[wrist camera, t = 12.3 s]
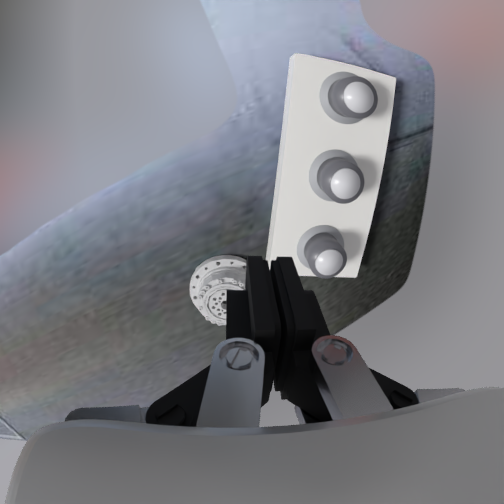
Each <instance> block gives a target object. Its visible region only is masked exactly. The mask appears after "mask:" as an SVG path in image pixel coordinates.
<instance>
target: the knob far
mask: <svg viewBox="0 0 504 504" xmlns="http://www.w3.org/2000/svg"><path fill="white" fill-rule="evenodd" d="M304 255H305V258H306V260H307V262H308V264H309V267H310V269H311V271H312V272H313V274H314V275H316V276H317V277H320V278H331V277H334V276H336V275H338V274H339V273H340V272H341V271H342V270H343V269H344V267H345V265H346V262H347V254H346V252H345V250H344V249H343V247H342V246H341V245H340V243H339V242H338V240H337V239H336V238H335V237H334V236H333V235H331V234H329V233H319V234H316V235H314V236H312V237H311V238H310V239H309V240H308V241H307V243H306V244H305V247H304Z"/></svg>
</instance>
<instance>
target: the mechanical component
mask: <svg viewBox="0 0 504 504" xmlns="http://www.w3.org/2000/svg"><path fill="white" fill-rule="evenodd" d="M246 262H247V260H245V259H243V258H241V257H238V256H232V255H220V256H215V257H212V258H210V259H208V260H205V261H204V262H203V263H202V264H200V265H199V266H198V267H197V268H196V270H195V272H194V273H193V275H192V278H191V282H190V295H191V299H192V301H193V303H194V305H195V306H196V307H197V308H198V309H199V311H200V312H201V314H202V315H203V316H205V317H206V320H210V321H211V323H213V324H214V323H217V324H218V325H219V326H221V325H226V297H227V290H245V280H246Z"/></svg>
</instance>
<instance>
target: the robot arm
mask: <svg viewBox="0 0 504 504" xmlns="http://www.w3.org/2000/svg"><path fill="white" fill-rule="evenodd" d="M273 381H274V388H275V391H280V392H281V399H287V400H288V401H290V402H291V403H293V404H295V412H296V415H297V418H298V420H299V423H300V425H289V426H273V427H259V421H260V410H261V407H262V406H263V405H264V404H266V403H267V402H268V400H269V395H270V391H271V389H272V384H273ZM5 504H504V388H499V387H488V388H487V387H486V388H478V389H472V390H467V391H465V390H463V389H459V388H454V389H453V388H452V389H417V390H416V391H415V392H413V391H412V390H411V389H409V388H407V387H406V386H404V385H402V384H400V383H398V382H396V381H394V380H392V379H390V378H388V377H386V376H384V375H382V374H380V373H378V372H376V371H374V370H372V369H370V368H368V366H367V365H366V363H365V361H364V360H363V358H362V357H361V355H360V353H359V352H358V350H357V349H356V347H355V346H354V345H353V344H352V343H351V342H350V341H349V340H347V339H345V338H342V337H340V336H335V335H330V333H329V330H328V328H327V325H326V322H325V320H324V317H323V314H322V312H321V309H320V306H319V304H318V301H317V299H316V296H315V293H314V292H313V291H312V290H303V287H302V284H301V281H300V278H299V275H298V272H297V269H296V267H295V264H294V261H293V258H292V257H278V256H277V258H276V260H272V261H271V266H270V270H269V265H268V260H263V259H262V256H247V262H246V280H245V290H227V297H226V340H225V341H223V342H221V343H220V344H219V345H218V346H217V347H216V349H215V351H214V354H213V358H212V362H211V365H209V366H208V367H206V368H205V369H203V370H202V371H201V372H199V373H198V374H196V375H195V376H193V377H192V378H190V379H189V380H187V381H186V382H184V383H183V384H181V385H180V386H178V387H177V388H175V389H174V390H172V391H171V392H169V393H168V394H166V395H164V396H163V397H161V398H160V399H158V400H157V401H155V402H154V403H153V404H152V405H151V406H150V407H143V408H140V407H139V405H129V406H113V407H86V408H78V409H75V410H73V411H71V412H70V413H69V414H68V415H67V417H66V418H65V421H64V422H59V423H54V424H51V425H48V426H45V427H42V428H41V429H39V430H37V431H36V432H35V433H34V434H33V435H32V436H31V437H30V438H29V439H28V441H27V442H26V444H25V446H24V447H23V449H22V452H21V454H20V456H19V458H18V461H17V463H16V466H15V469H14V471H13V474H12V478H11V481H10V485H9V488H8V492H7V496H6V500H5Z"/></svg>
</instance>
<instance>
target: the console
mask: <svg viewBox="0 0 504 504" xmlns="http://www.w3.org/2000/svg"><path fill="white" fill-rule="evenodd" d="M352 76H359V77H363V78H365V79H367V80H368V81H369V82H370V83H371V84H372V85H373V86H374V88H375V90H376V92H377V96H378V103H377V107H376V109H375V111H374V112H373V113H372V114H371V115H370V116H368V117H366V118H362V119H357V118H350V117H343V116H341V115H339V114H337V113H336V112H335V111H334V110H333V109H332V108H331V106H330V104H329V101H328V91H329V88H330V86H331V85H332V84H333V83H334V82H335V81H336V80H339V79H342V78H347V77H352ZM395 85H396V78H395V77H392V76H388V75H385V74H382V73H379V72H376V71H372V70H369V69H365V68H362V67H358V66H354V65H350V64H346V63H342V62H338V61H334V60H329V59H325V58H320V57H315V56H310V55H304V54H298V53H295V54H294V55H292V56H291V57H290V61H289V71H288V80H287V89H286V98H285V107H284V116H283V125H282V133H281V142H280V150H279V159H278V167H277V175H276V183H275V192H274V200H273V208H272V215H271V223H270V231H269V239H268V247H267V254H266V260H268V265H269V270H270V266H271V261H272V260H276V258H277V256H278V257H292V258H293V261H294V264H295V267H296V269H297V272H298V275H299V276H316V275H314V274H313V272H312V271H311V269H310V267H309V264H308V262H307V260H306V258H305V255H304V247H305V244H306V243H307V241H308V240H309V239H310V238H311V237H312V236H314V235H316V234H319V233H329V234H331V235H333V236H334V237H335V238H336V239H337V240H338V242H339V243H340V245H341V246H342V247H343V249H344V250H345V252H346V254H347V262H346V265H345V267H344V269H343V270H342V271H341V272H340V273H339V274H338V275H336V276H334V277H357V274H358V270H359V267H360V263H361V260H362V256H363V253H364V249H365V245H366V241H367V237H368V234H369V230H370V226H371V221H372V217H373V213H374V209H375V204H376V200H377V195H378V191H379V186H380V181H381V176H382V171H383V166H384V161H385V155H386V149H387V143H388V137H389V131H390V124H391V117H392V110H393V102H394V94H395ZM333 157H339V158H343V159H345V160H347V161H349V162H351V163H353V164H355V165H356V166H357V167H359V168H360V170H361V171H362V173H363V176H364V188H363V191H362V193H361V194H360V196H359V197H358V198H357V199H356V200H354V201H352V202H350V203H347V204H340V203H337V202H335V201H333V200H332V199H331V198H329V197H328V196H327V195H326V194H325V193H324V192H323V191H322V190H321V189H320V187H319V185H318V183H317V171H318V169H319V167H320V165H321V164H322V163H323V162H324V161H325V160H327V159H329V158H333Z"/></svg>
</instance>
